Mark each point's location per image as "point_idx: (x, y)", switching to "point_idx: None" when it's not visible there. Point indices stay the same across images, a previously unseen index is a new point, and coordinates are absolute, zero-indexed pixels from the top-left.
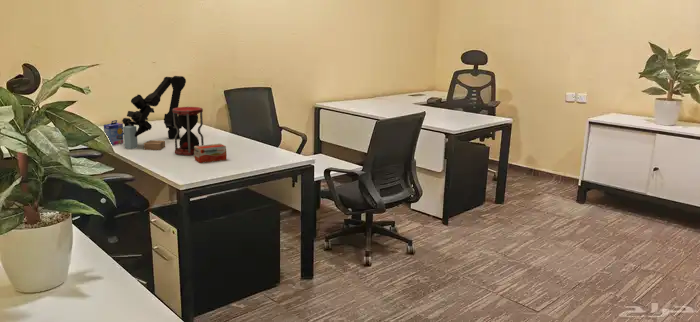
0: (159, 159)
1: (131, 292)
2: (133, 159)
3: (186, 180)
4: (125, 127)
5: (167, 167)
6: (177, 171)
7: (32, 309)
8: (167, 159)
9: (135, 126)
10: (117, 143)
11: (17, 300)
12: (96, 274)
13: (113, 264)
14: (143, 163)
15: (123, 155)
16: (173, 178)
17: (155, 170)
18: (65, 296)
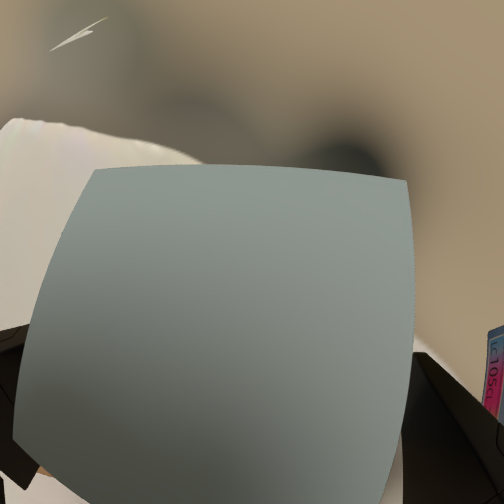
0: (21, 194)
1: (61, 44)
2: (99, 140)
3: (4, 129)
4: (266, 175)
5: (13, 152)
6: (4, 147)
7: (94, 23)
8: (4, 209)
9: (19, 422)
10: (485, 407)
11: (103, 19)
12: (76, 36)
13: (70, 41)
14: (61, 134)
15: (172, 154)
16: (16, 121)
17: (36, 123)
18: (85, 29)
